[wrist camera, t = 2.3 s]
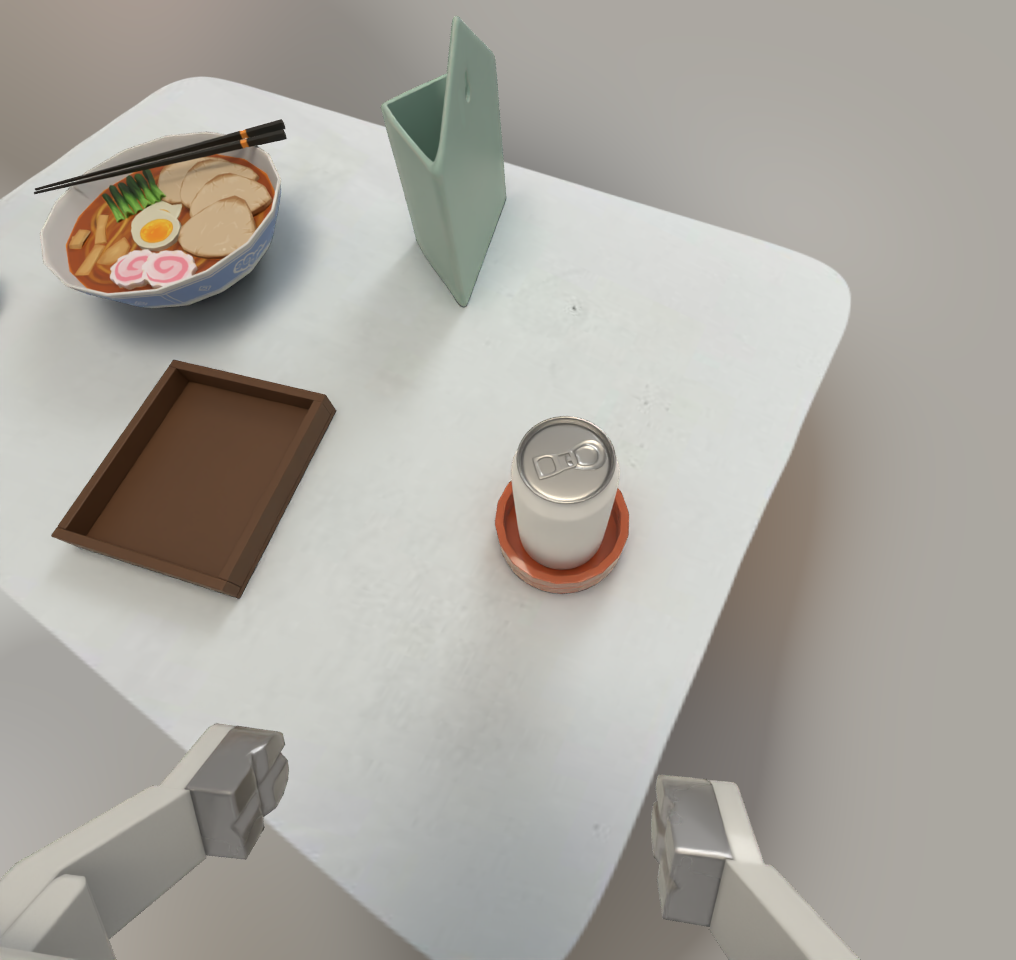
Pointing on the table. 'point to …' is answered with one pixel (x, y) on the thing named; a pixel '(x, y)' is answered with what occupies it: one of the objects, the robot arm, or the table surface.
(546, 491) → the can
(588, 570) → the bowl
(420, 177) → the planter
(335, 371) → the table surface
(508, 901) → the table surface
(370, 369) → the table surface
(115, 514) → the tray
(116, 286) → the ramen bowl
